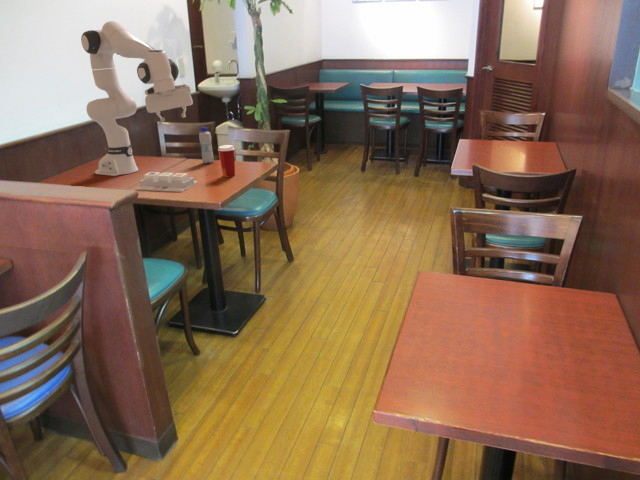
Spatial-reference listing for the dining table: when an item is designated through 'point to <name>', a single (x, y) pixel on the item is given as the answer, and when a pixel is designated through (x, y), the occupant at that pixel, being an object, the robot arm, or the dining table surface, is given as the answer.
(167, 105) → the robot arm
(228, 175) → the coffee cup
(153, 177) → the charcoal key
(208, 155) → the bottle
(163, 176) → the sage key
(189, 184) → the keypad base
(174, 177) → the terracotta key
